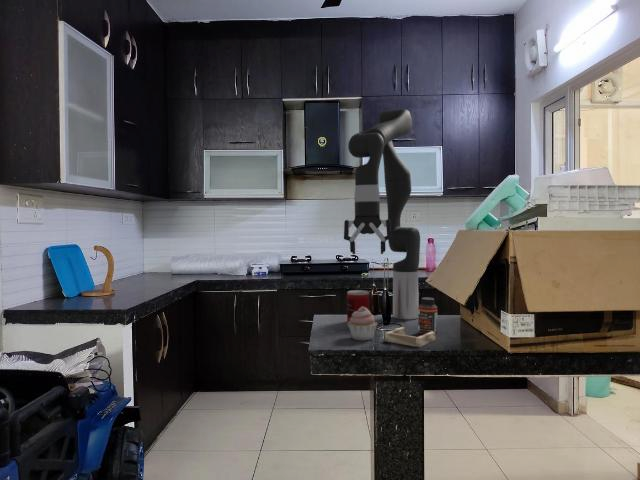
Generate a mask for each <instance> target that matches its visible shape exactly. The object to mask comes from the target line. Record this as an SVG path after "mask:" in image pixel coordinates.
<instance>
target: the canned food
mask: <svg viewBox="0 0 640 480" xmlns="http://www.w3.org/2000/svg"><path fill="white" fill-rule="evenodd" d="M362 306H363V307H365V308H367V309H368V310H369V311H370V291H369V290H364V289H359V290H358V289H355V290H348V291H347V292H346V322H347V323H348V322H350V318H351V316H352V314H353V312H356V311H358V309H359V308H361V307H362Z"/></svg>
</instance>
